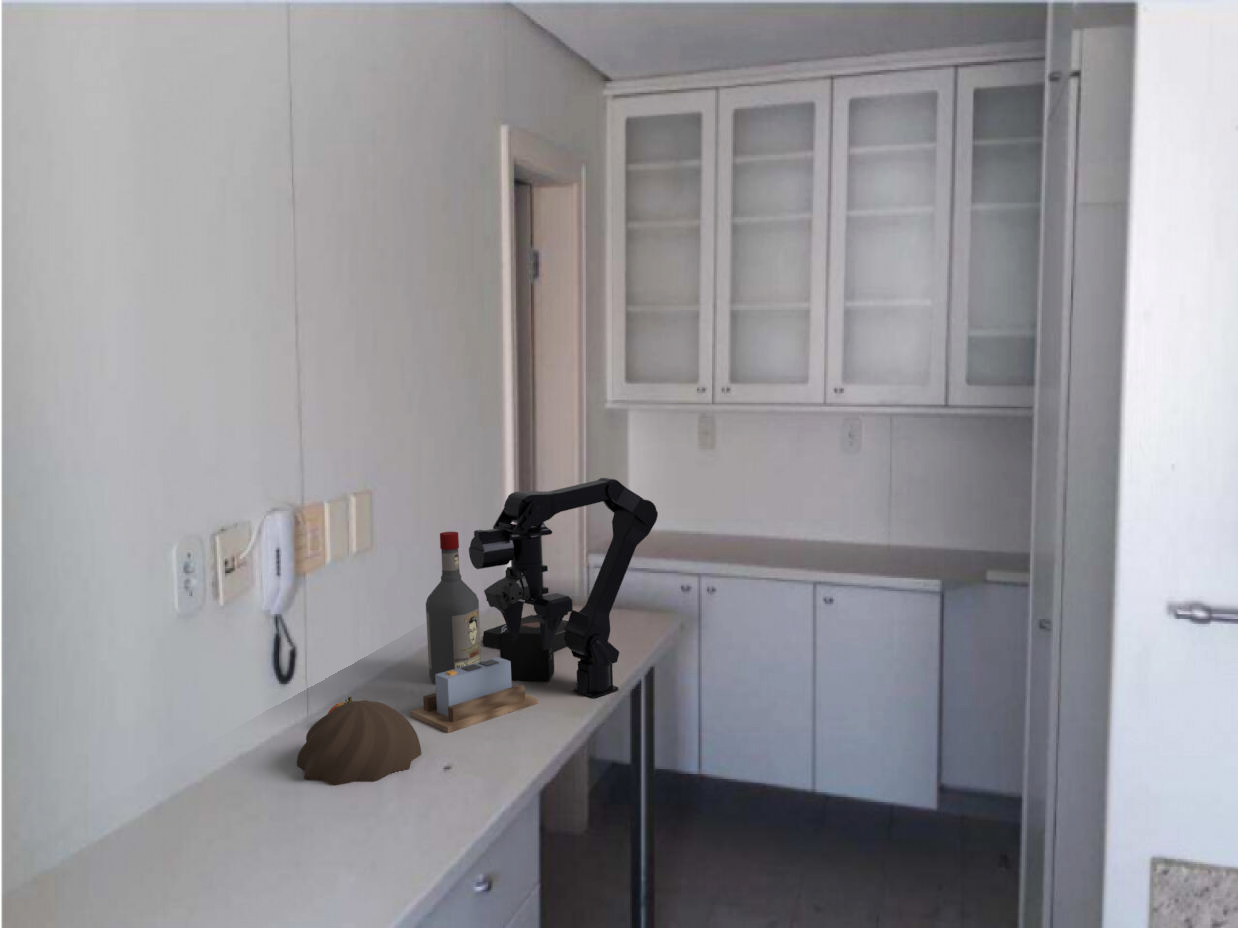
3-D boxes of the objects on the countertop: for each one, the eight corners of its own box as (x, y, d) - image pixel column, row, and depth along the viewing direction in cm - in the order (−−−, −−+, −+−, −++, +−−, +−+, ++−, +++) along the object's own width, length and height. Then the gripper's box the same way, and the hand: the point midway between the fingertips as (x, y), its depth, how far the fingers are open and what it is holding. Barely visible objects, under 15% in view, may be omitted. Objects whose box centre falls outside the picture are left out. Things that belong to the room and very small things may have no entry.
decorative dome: (438, 740, 171) (435, 683, 170) (390, 790, 152) (387, 726, 151) (333, 735, 175) (330, 679, 174) (274, 783, 156) (270, 720, 155)
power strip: (499, 692, 191) (497, 654, 190) (512, 697, 188) (510, 659, 188) (437, 711, 182) (435, 672, 181) (449, 717, 179) (447, 676, 178)
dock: (499, 688, 196) (498, 671, 196) (537, 703, 188) (537, 685, 187) (410, 716, 183) (410, 697, 182) (448, 732, 174) (447, 713, 174)
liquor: (424, 683, 201) (416, 536, 198) (448, 669, 210) (441, 528, 206) (463, 687, 198) (456, 538, 194) (486, 673, 206) (480, 530, 203)
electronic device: (549, 682, 199) (547, 633, 198) (501, 680, 201) (499, 632, 200) (554, 675, 204) (553, 628, 202) (507, 674, 206) (505, 626, 204)
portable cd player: (530, 630, 239) (529, 614, 239) (586, 640, 229) (586, 623, 229) (482, 647, 226) (481, 630, 226) (540, 659, 216) (539, 641, 216)
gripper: (460, 561, 184) (464, 644, 186) (523, 575, 170) (527, 664, 172) (509, 552, 191) (512, 631, 193) (573, 565, 178) (576, 650, 180)
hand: (530, 644), depth 184 cm, fingers open, 9 cm apart
